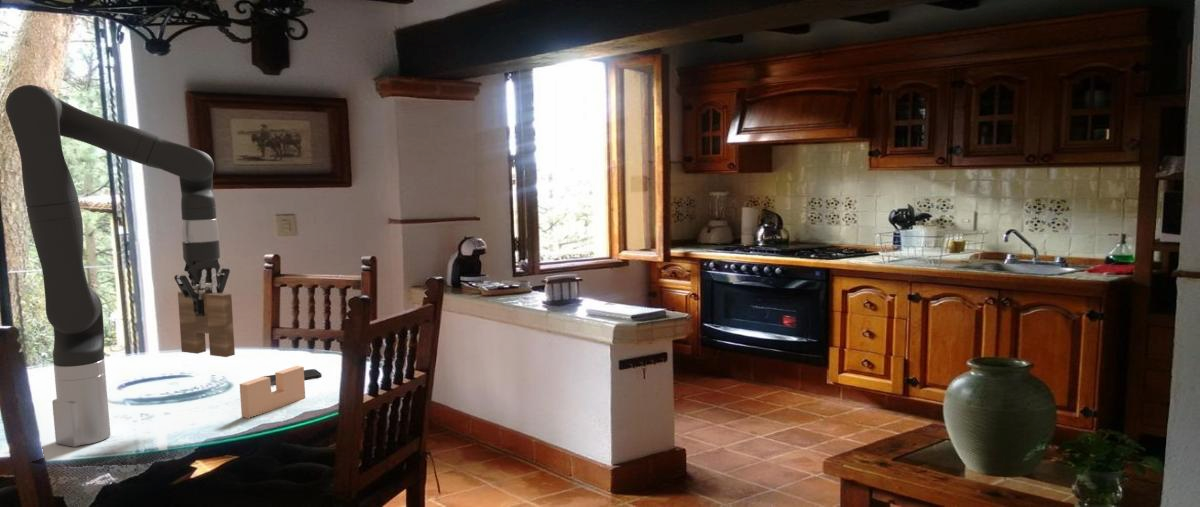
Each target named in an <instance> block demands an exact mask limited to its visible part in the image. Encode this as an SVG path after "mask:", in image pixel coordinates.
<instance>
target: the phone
mask: <svg viewBox="0 0 1200 507" xmlns="http://www.w3.org/2000/svg"><path fill="white" fill-rule="evenodd" d="M262 377H269V378H270V380H271V386H276V375H275V374H270V375H264V376H262ZM319 378H322V373H321V372H320V371H318V370H317V369H316V368H312V369H311V368H310V369H305V370H304V381H307V380H314V379H319Z"/></svg>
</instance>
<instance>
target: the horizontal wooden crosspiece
mask: <svg viewBox="0 0 1200 507" xmlns="http://www.w3.org/2000/svg"><path fill="white" fill-rule="evenodd" d="M304 368H305V366H302V365H300V366H299V365H294V366H292V367H288V368H285V369H282V370H279V371H276V372H275V374H274V375H276V385H275V388H276V389H275V390H274V391H272V385H271V380H270V378H269V377H263V376H260V377H257V378H254V379H252V380H248V381H245V382H242V383H239V396H240V410H241V412H240V413H241V418H242V417H245V418H244V419H249V418H250V417H252V418H254V417H253V416H255V417H257V416H256V415H258V416H260V415H262V413H263V414H266V413H269V412H271V411H274V410H277V409H278V408H283V407H284V406H287V405H289V404H293V403H295V402H298V401H299V400H302V399H305V398H306V386H305V380H304ZM265 412H266V413H265ZM259 414H260V415H259ZM250 419H251V418H250Z"/></svg>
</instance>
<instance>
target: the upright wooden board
mask: <svg viewBox="0 0 1200 507" xmlns="http://www.w3.org/2000/svg"><path fill="white" fill-rule="evenodd" d="M177 299H178V300H177V301H178V314H179V331H180V333H179V334H180V346H181V349H180V350H181V353H188V354H197V355H198V354H201V353H204V352H207V351H206V350H207V345H206V334H208V344H209V345H208V346H209V355H210V356H214V357H221V358H228V357H232V356H235V355H236V353H235V352H236V351H235V337H234V332H235V331H234V317H233V315H234V314H233V302H232V294H231V293H224V292H223V293H211V292H205V291H203V299H202V300H204V316H196V315H195V314H194V310H193V300H192V299H191V298H185V297H184V295H183V293H182V292H181V291H177Z"/></svg>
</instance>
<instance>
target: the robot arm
mask: <svg viewBox="0 0 1200 507" xmlns="http://www.w3.org/2000/svg"><path fill="white" fill-rule="evenodd" d="M4 106H5V112H6V117H7V118H8V121H9V124H10V127H11V130H12V132H13V135H14V139H15V141H16V144H17V145H16V146H17V149H18V153H19V157H20V164H21V177H22V185H23V186H22V187H23V188H22V189H23V192H24V201H25V207H26V213H27V216H28V217H27V218H28V221H29V226H30V230H31V234H32V238H33V242H34V246H35V250H36V252H37V256H38V260H39V264H40V266H41V271H42V278H43V288H44V300H45V314H46V318H47V320H48V322H49V324H50V325H51V326H52V327H53V337H54V340H53V350H52V351H53V352H52V361H53V362H52V363H53V372H54V384H55V394H56V395H55V396H56V399H55V398H54V399H53V400H52V415H53V424H54V436H55V444H58V445H64V446H68V447H73V448H74V447H79V446H83V445H89V444H94V443H98V442H101V441H103V440H106V439H108V438H109V437H110V436H111V425H110V415H109V414H110V413H109V402H108V398H109V397H108V390H107V376H106V364H105V329H104V312H103V305H102V301H101V297H100V296H99V295H98V294H97V292H96V291H94V290H93V289H91V288H90V286H89V284H88V279H87V275H86V272H85V267H84V224H83V216H82V211H81V205H80V200H79V196H78V193H77V189H76V186H75V185H76V184H75V182H74V180H73V177H72V175H71V172H70V170H69V166H68V164H67V161H66V159H65V155H64V152H63V147H62V139H61V137H64V138H68V139H71V140H76V141H79V142H82V143H85V144H87V145H88V144H89V145H90V146H93V147H95V148H99V149H101V150H103V151H106V152H109V153H110V154H114V156H115V155H116V156H118V157H121V158H123V159H126V160H128V161H131V162H135V163H138V164H141V165H143V166H147V167H148V168H149V167H150V168H154V169H158V170H162V171H165V172H167V173H169V174H172V175H174V176H177V177H178V178H179V185H180V192H181V198H180V199H181V201H180V207H181V210H180V211H181V242H182V243H181V245H182V258H183V260H184V263H185V266H184V270H183V272H182V273H180V274H176V275H174V277H173V278H174V280H175V282H176V285H178V288H179V289H180V292H182V293H183V295H184V297H185V298H191V299H192V300H193V310H194V314H195V315H196V316H204V300H202V299H203V292H211V293H224V290H225V288H226V284H227V281H228V278H229V275H230V272H231V270H230V268H224V267H222V266H221V265H220V263H219V259H220V258H221V249H220V234H219V233H220V232H219V226H218V221H217V220H218V219H217V207H216V204H217V203H216V199H215V196H214V188H213V187H214V182H213V174H214V170H215V163H214V161H213V158H212V157H211V156H210V155H209V154H208V153H206V151H205V152H204V151H202V150H200V149H198V148H197V149H196V148H193V147H190V146H187V145H183V144H180V143H176V142H174V141H172V140H171V141H170V140H168V139H166V138H165V137H162V136H160V135H157V134H154V133H151V132H149V131H146V130H144V129H140V128H137V127H135V126H131V125H128V124H124V123H121V122H117V121H113V120H111V119H107V118H104V117H101V116H97V115H95V114H92V113H89V112H86V111H85V110H82V109H80V108H77V107H75V106H73V105H71V104H69V103H68V102H65V101H64V100H62V99H60V98H58V97H57V96H56V95H55V94H53V93H52V92H51V91H50V90H48V89H46V88H44V87H41V86H38V85H34V84H24V85H21V86H18V87H17V88H15V89H13V90H11V92H10V93H9V94H8V95H7V98H6V100H5V105H4Z"/></svg>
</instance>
